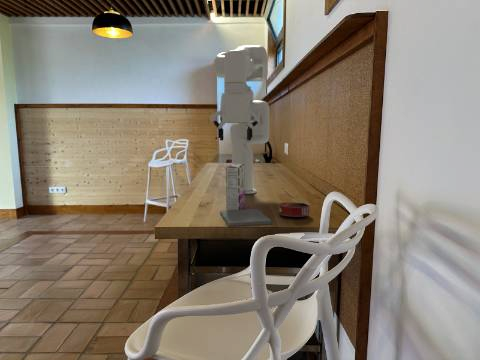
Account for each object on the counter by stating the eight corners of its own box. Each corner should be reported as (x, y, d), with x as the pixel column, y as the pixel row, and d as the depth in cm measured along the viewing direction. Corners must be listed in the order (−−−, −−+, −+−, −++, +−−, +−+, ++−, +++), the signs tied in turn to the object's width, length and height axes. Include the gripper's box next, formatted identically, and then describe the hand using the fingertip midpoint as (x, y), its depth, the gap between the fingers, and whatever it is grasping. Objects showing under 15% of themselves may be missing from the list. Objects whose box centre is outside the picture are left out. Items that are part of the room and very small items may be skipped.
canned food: (286, 224, 114) (290, 197, 117) (313, 225, 108) (317, 196, 111) (269, 213, 106) (274, 184, 109) (297, 213, 100) (302, 182, 103)
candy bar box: (231, 206, 124) (231, 163, 122) (245, 207, 123) (245, 163, 121) (225, 213, 113) (225, 165, 111) (239, 214, 112) (239, 166, 110)
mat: (220, 213, 112) (220, 210, 112) (257, 211, 114) (257, 208, 114) (228, 226, 96) (228, 222, 96) (271, 223, 99) (271, 220, 99)
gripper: (257, 91, 117) (256, 139, 120) (208, 90, 114) (209, 140, 116) (263, 88, 110) (262, 140, 113) (211, 87, 107) (211, 140, 109)
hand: (235, 140), depth 115 cm, fingers open, 9 cm apart
